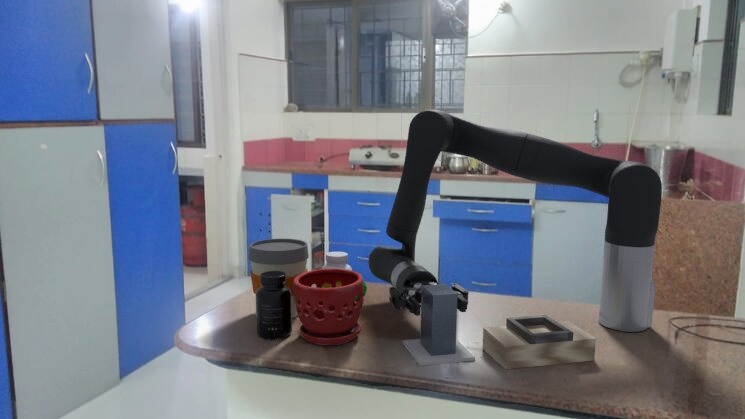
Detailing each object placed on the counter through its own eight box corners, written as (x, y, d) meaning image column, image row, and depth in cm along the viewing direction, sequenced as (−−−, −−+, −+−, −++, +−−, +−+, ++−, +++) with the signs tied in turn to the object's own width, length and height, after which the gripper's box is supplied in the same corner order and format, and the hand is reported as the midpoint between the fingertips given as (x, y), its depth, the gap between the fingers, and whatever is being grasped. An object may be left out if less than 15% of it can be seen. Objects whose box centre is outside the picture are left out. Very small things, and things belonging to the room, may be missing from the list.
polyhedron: (370, 297, 135) (370, 277, 134) (361, 303, 130) (361, 283, 129) (351, 294, 137) (351, 275, 136) (341, 300, 132) (341, 280, 131)
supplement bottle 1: (258, 327, 115) (257, 269, 113) (293, 327, 115) (292, 268, 113) (254, 340, 108) (252, 279, 106) (291, 340, 108) (290, 278, 106)
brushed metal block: (443, 341, 107) (444, 283, 105) (455, 353, 101) (457, 293, 99) (420, 343, 106) (421, 285, 104) (431, 356, 100) (432, 295, 98)
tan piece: (565, 341, 109) (567, 313, 108) (594, 360, 100) (596, 330, 100) (482, 348, 105) (483, 319, 104) (505, 369, 96) (506, 338, 96)
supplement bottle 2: (347, 318, 120) (347, 258, 118) (317, 315, 122) (317, 256, 120) (355, 308, 127) (355, 251, 125) (326, 305, 128) (326, 249, 126)
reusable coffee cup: (321, 310, 125) (320, 242, 123) (282, 327, 115) (281, 254, 112) (277, 300, 132) (276, 235, 130) (237, 315, 122) (235, 246, 119)
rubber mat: (453, 339, 110) (453, 335, 109) (474, 360, 100) (474, 357, 100) (403, 343, 107) (403, 340, 107) (419, 365, 98) (419, 362, 98)
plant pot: (306, 322, 118) (306, 265, 116) (369, 328, 115) (370, 269, 113) (284, 347, 105) (283, 283, 103) (354, 354, 102) (354, 288, 100)
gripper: (379, 266, 114) (403, 290, 99) (447, 263, 117) (480, 285, 102) (379, 303, 115) (402, 332, 100) (446, 298, 119) (478, 326, 103)
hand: (441, 308), depth 101 cm, fingers open, 8 cm apart
